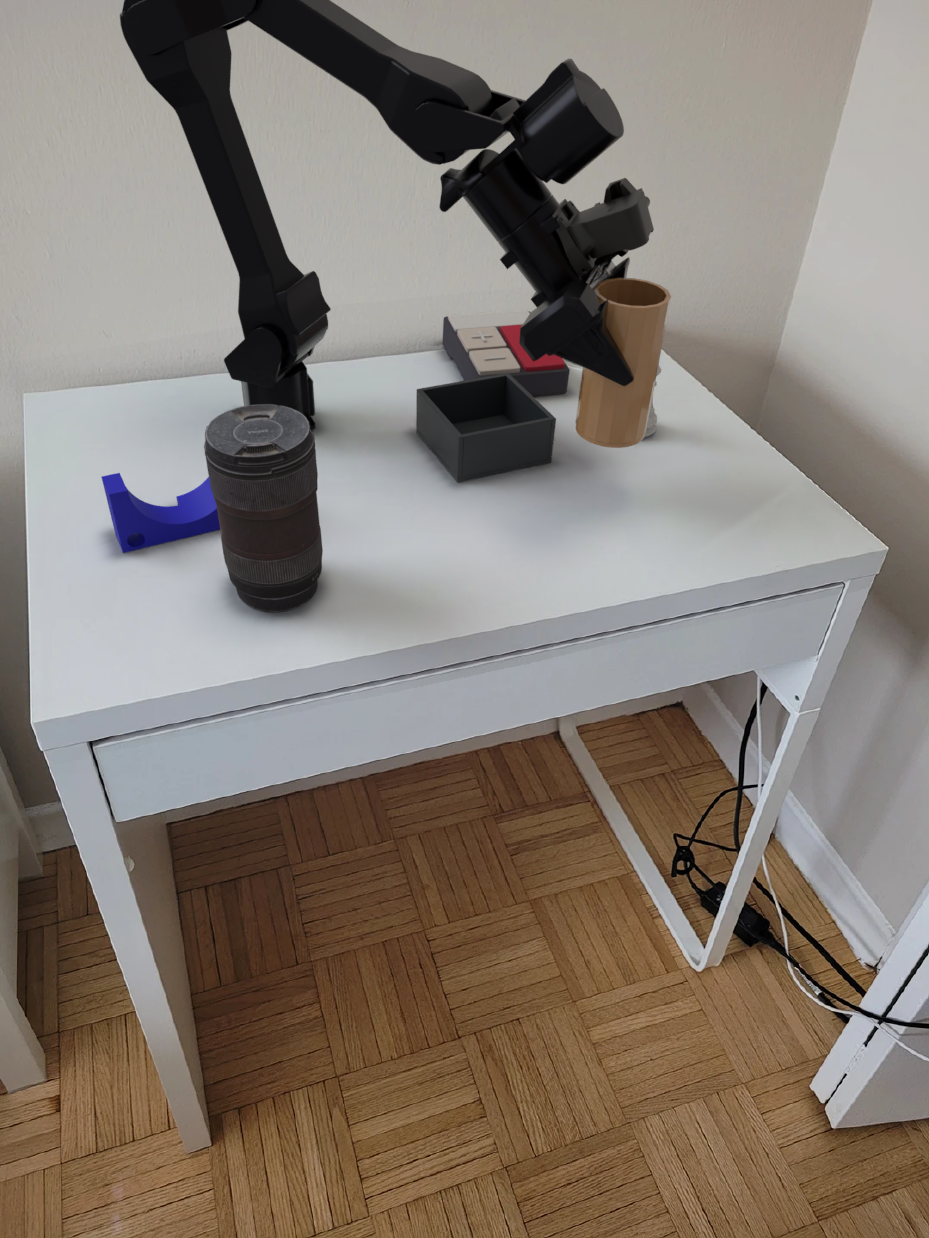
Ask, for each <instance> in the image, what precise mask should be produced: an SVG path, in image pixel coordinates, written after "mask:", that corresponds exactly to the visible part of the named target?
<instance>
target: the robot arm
mask: <svg viewBox="0 0 929 1238" xmlns="http://www.w3.org/2000/svg"><path fill="white" fill-rule="evenodd" d="M248 22H249V23H251V25H254V27H255V26H256V27H257V28H259V29H260V30H262V31H263V32H264V33H266V34H268V35H269V36H271V37H272V38H273V39H275V40H276V41H278V42H279V43H281V44H282V45H284V46H286V47H288V48H289V49H290V50H292V51H293V52H294V53H297V54H298V55H300V56H301V57H303V58H304V59H306V60H307V61H308V62H310V63H312V64H313V65H315V66H316V67H318V68H319V69H321V70H322V71H324V72H325V73H327V74H328V75H330V76H331V77H333V78H335V79H336V80H337V81H339V82H340V83H342V84H343V85H344V86H346V87H348V88H349V89H351V90H352V91H354V92H356V93H357V94H359V95H360V96H361V97H363V98H364V99H365V100H366V101H367V102H369V103H370V104H371V106H373V107H374V108H375V109H376V111H377V112H378V113H379V115H380V116H381V118H382V120H383V121H384V123H385V125H386V126H387V128H388V129H389V131H391V132H392V133H393V135H395V136H396V137H397V138H398V139H399V140H400V141H401V142H402V143H403V144H405V146H407V147H408V148H409V149H410V150H411V151H412V153H414V154H415V155H416V156H417V157H419V158H420V159H422V160H423V161H424V162H427V163H430V164H431V165H438V166H441V165H445V164H448V163H451V162H454V161H456V160H458V159H459V158H460V157H462V156H464V155H465V154H467V153H468V152H469V151H472V150H480V151H479V153H478V154H476V155H475V156H474V158H472V159H471V160H470V161H468V163H466V164H465V166H463V168H462V169H457V168H453V167H450V168H448V169H447V170H446V171H445V172H444V173H442V174H441V175H440V177H439V179H440V184H441V185H440V186H441V192H440V198H439V207H438V208H439V210H440V212H442V213H447V212H448V211H449V210H450V209H451V208H452V207H453V206H455V204H457V203H458V202H459V201H460V200H461V199H462V198H463V199H464V200H465V202H466V203H467V204H468V206H469V207H470V208H471V209H472V211H473V212H474V214H475V215H476V216H477V217H478V219H479V220H480V221H481V223H482V224H483V225H484V226H485V228H486V229H487V231H488V232H489V233H490V234H491V236H493V238H494V239H495V240H496V242H497V243H498V245H499V246H500V247H501V249H502V250H503V251H504V254H503V255H502V256H501V257H500V258H499V261H500V262H501V263H502V265H503V266H504V267H505V268H506V270H508V269H510V268H512V266H514V265H515V266H516V268H517V269H518V271H519V272H520V273H521V274H522V276H523V277H524V279H525V280H526V281H527V282H528V284H529V285H530V287H531V288H532V289H533V290H534V291H535V292H534V294H533V295H532V296H531V298H530V301H531V302H532V303H533V305H534V306H535V307H536V308H534V309H533V310H532V311H530V312H531V313H530V314H529V316H528V317H527V319H526V320H525V322H524V323H523V325H522V326H521V328H520V339H519V344H520V345H521V346H522V348H523V349H524V350H525V351H526V353H527V354H528V355H529V357H530V358H531V359H532V360H533V361H537V360H538V359H539V358H541V357H542V356H544V355H545V354H547V355H548V356H552V355H553V354H554V355H556V356H558V357H561V358H562V359H563V360H566V361H569V362H570V363H574V364H576V365H579V366H581V367H582V368H583V367H585V368H587V369H589V370H591V371H593V372H595V373H597V374H599V375H601V376H604V377H606V378H608V379H610V380H612V381H614V382H616V383H618V384H620V385H622V386H626V385H628V384H629V383H631V382H632V381H633V380H634V376H633V374H632V372H631V370H630V368H629V366H628V364H627V362H626V360H625V359H624V357H623V355H622V353H621V351H620V350H619V348H618V346H617V344H616V343H615V341H614V339H613V337H612V335H611V334H610V332H609V330H608V328H607V326H606V318H607V310H608V300H606V301H605V302H603V303H602V304H601V305H600V304H599V301H598V298H597V296H596V293H595V292H594V291H593V288H594V287H595V285H596V284H597V283H599V282H601V281H604V280H606V279H613V278H627V277H628V270H629V266H630V264H631V263H630V262H631V259H630V257H629V256H628V257H626V258H625V259H623V260H622V261H620V262H619V263H618V264H617V265H616V264H615V263H614V262H613V261H612V260H614V258H615V257H617V256H619V257H621V258H623V257H624V256H626V255H627V254H628V253H629V251H634V250H637V249H639V248H641V247H643V246H645V245H647V244H648V243H649V241H650V235H651V233H653V232H654V229H655V228H654V225H653V221H652V216H651V213H650V210H649V206H650V204H651V200H650V197H648V196H647V195H646V194H645V191H644V190H643V188H642V187H641V188H638V189H636V187H635V186H634V185H633V184H632V183H631V182H630V181H629V179H628V178H626V177H623V178H620V179H618V180H615V181H612V182H609V183H608V185H607V187H606V188H605V191H604V196H603V197H604V198H603V202H602V203H601V202H596V203H595V204H594V206H592V207H589V208H587V209H584V210H581V211H580V210H579V209H578V208H577V206H576V205H575V203H573V201H572V200H567V199H566V198H564V199H563V200H562V201H560V202H558V200H557V199H556V197H555V196H554V195H553V194H552V192H551V191H550V189H549V188H548V187H547V185H546V184H548V183H549V182H550V181H551V180H552V181H553V182H555V183H557V184H560V185H565V184H568V183H569V182H570V181H571V180H573V178H575V177H576V176H577V175H579V173H581V172H582V171H583V170H585V168H586V167H588V166H589V165H590V164H592V162H593V161H595V160H596V159H597V158H598V157H600V156H601V155H602V154H603V153H604V152H605V151H607V150H608V149H609V148H610V147H612V146H613V145H614V144H615V143H616V142H617V141H618V140H620V139H621V138H622V137H623V136H624V133H625V127H624V123H623V119H622V116H621V114H620V112H619V110H618V108H617V106H616V104H615V102H614V100H613V99H612V97H611V95H610V94H609V92H608V91H607V90H606V89H605V88H604V87H602V88H601V86H600V85H598V83H597V82H596V81H595V80H594V79H593V78H592V77H591V76H589V75H588V74H587V73H586V72H584V71H581V70H580V69H579V67H578V66H577V64H576V63H575V62H574V60H573V59H572V58H567V59H565V60H564V61H562V62H560V63H559V64H558V65H557V66H556V67H555V68H554V69H553V70H552V71H551V72H550V73H549V74H548V76H547V78H546V79H545V80H544V82H543V83H542V84H541V85H540V86H539V87H538V88H537V89H536V90H535V91H534V92H533V93H532V94H531V95H530V96H529V97H528V98H527V99H526V100H525V99H522V98H518V97H516V96H512V95H510V94H506V93H502V92H499V91H496V90H493V89H491V88H490V86H489V85H488V82H486V81H485V80H484V79H483V78H482V77H481V76H480V75H479V74H477V73H475V72H474V71H471V70H469V69H467V68H465V67H462V66H459V65H457V64H455V63H453V62H450V61H447V60H445V59H443V58H440V57H437V56H432V55H428V54H425V53H420V52H418V51H417V52H416V51H412V50H410V49H408V48H405V47H403V46H400V45H398V44H396V43H395V42H394V41H392V40H391V39H389V38H387V36H384V35H383V34H381V33H380V32H378V31H377V30H375V29H374V28H372V27H371V26H369V25H368V24H366V23H365V22H363V21H362V20H360V19H359V18H357V17H356V16H354V15H353V14H352V13H350V12H349V11H347V10H345V9H344V8H342V7H341V6H339V5H338V4H336V3H335V2H333V1H332V0H124V1H123V5H122V9H121V12H120V13H119V24H120V28H121V32H122V35H123V38H124V40H125V42H126V44H127V47H128V49H129V51H130V53H131V54H132V56H133V59H135V61H136V63H137V66H138V68H139V69H140V71H141V73H142V74H143V76H144V78H145V80H146V81H147V83H148V84H149V85H150V86H151V87H152V88H153V89H154V90H155V91H156V92H157V93H158V94H159V95H160V96H161V97H162V98H163V99H164V100H165V101H166V102H167V103H168V104H169V106H170V107H171V108H172V109H173V110H174V111H175V113H176V116H177V117H178V120H179V123H180V126H181V128H182V130H183V131H182V132H183V133H184V136H185V138H186V141H187V144H188V146H189V148H190V152H191V155H192V156H193V159H194V162H195V164H196V168H197V169H198V173H199V175H200V178H201V179H202V183H203V185H204V188H205V191H206V193H207V195H208V199H209V200H210V203H211V206H212V209H213V211H214V214H215V217H216V219H217V221H218V224H219V226H220V229H221V232H222V235H223V237H224V240H225V242H226V245H227V248H228V250H229V252H230V255H231V258H232V260H233V263H234V265H235V268H236V271H237V273H238V279H239V280H238V281H239V282H238V302H237V303H238V304H237V306H238V307H237V314H238V318H239V323H240V326H241V331H242V335H243V338H244V339H243V340H241V342H240V343H239V344H238V345H237V346H236V347H234V348H233V350H232V351H231V352H230V353H228V354H227V355H226V356H225V357H224V359H223V363H224V365H225V367H226V369H227V371H228V374H229V376H230V378H231V380H234V381H239V382H240V386H241V392H242V401H243V406H249V405H258V404H274V405H278V406H285V407H289V408H292V409H294V410H296V411H299V412H300V413H302V414H303V415H304V416H305V417H306V418H307V420H308V422H309V424H310V429H311V431H313V430H316V429H317V423H316V422H315V419H313V417H314V416H315V415H316V406H315V391H314V380H313V379H312V377H311V376H310V375H309V373H308V368H307V366H306V364H305V363H304V362H303V361H305V360H306V359H307V358H308V357H310V356H312V355H313V353H314V350H315V347H316V346H317V345H318V344H319V343H320V342H321V341H322V340H323V339H324V338H325V336H326V333H327V331H328V329H329V320H328V313H330V312H331V310H332V309H331V307H330V305H329V304H328V303H327V301H326V300H325V297H324V296H323V292H322V289H321V288H322V287H321V283H320V277H319V276H318V274H317V272H316V271H315V270H312V271H310V272H309V271H308V272H307V273H305V274H304V273H303V272H302V271H301V270H300V269H299V268H298V267H297V266H296V265H295V264H294V263H293V262H292V261H291V260H290V259H289V256H288V254H287V251H286V249H285V246H284V243H283V240H282V238H281V234H280V232H279V229H278V226H277V224H276V221H275V218H274V215H273V212H272V209H271V207H270V204H269V201H268V198H267V195H266V192H265V189H264V186H263V184H262V181H261V178H260V175H259V172H258V170H257V167H256V163H255V162H254V158H253V155H252V153H251V149H250V146H249V145H248V141H247V138H246V136H245V133H244V130H243V127H242V125H241V121H240V119H239V116H238V113H237V110H236V107H235V105H234V102H233V98H232V94H231V78H232V77H231V73H232V49H231V48H232V47H231V44H230V40H229V35H228V31H230V30H232V29H234V28H237V27H239V26H242V25H244V24H245V23H248ZM508 133H510V135H511V136H512V138H513V139H514V140H513V141H511V142H510V143H509V144H508V145H507V146H506V147H505V148H504V149H503V150H502V151H500V152H497V151H495V150H494V149H489V147H490V146H491V145H493V144H494V143H496V142H497V141H499V140H500V139H502V138H503V137H504V136H506V135H507V134H508Z"/></svg>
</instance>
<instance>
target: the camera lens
mask: <svg viewBox="0 0 929 1238" xmlns="http://www.w3.org/2000/svg"><path fill="white" fill-rule="evenodd" d="M203 449H204V450H203V451H204V456H205V460H206V468H207V474H208V477H209V480H210V486H211V490H212V493H213V496H214V499H215V502H216V506H217V512H218V519H219V525H220V530H219V531H220V541H221V546H222V554H223V559H224V563H225V566H226V569H227V572H228V576H229V580H230V582H231V583H232V585H233V586H234V587H235V590H236V593H237V596H238V597H239V599H240V600H241V601H242V603H244V604H245V605H247V606H248V607H250V608H252V609H255V610H258V611H263V612H271V613H273V612H275V613H276V612H285V611H291V610H294V609H297V608H299V607H301V606H303V605H305V604H307V603H308V602H309V601H310V600H311V599H312V598H313V597H314V596H315V594H316V592H317V590H318V586H319V583H318V582H319V579H320V576H321V574H322V571H323V552H324V550H323V538H322V529H321V525H320V515H319V514H320V513H319V504H318V495H317V492H318V487H319V486H318V485H319V484H318V476H319V473H318V464H317V451H316V442H315V436H314V433H313V432H312V430H311V429H310V424H309V422H308V420H307V418H306V417H305V416H304V415H303V414H302V413H300V412H299V411H296V410H294V409H292V408H289V407H285V406H278V405H274V404H258V405H249V406H244V405H243V406H239V407H235V408H232V409H230V410H227V411H224V412H222V413H220V414H219V415H217V416H216V417H214V418H213V419H212V420H211V421H210V422H209V423H208V425H207V426H206V428H205V432H204V444H203Z"/></svg>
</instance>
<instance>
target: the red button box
mask: <svg viewBox="0 0 929 1238" xmlns="http://www.w3.org/2000/svg"><path fill="white" fill-rule="evenodd" d="M531 312H532V311H530V310H528V309H513V310H501V311H488V312H487V311H486V312H473V313H459V314H449V315H448V316H447V315H446V316H444V317H443V319H442V321H443V322H442V346H443V348H444V350H445V352H446V354H447V356H448V357H449V358H450V359H452V360H453V362H454V364H455V366H456V368H457V370H458V372H459V373H460V375H461V378H462V380H463V381H466V380H471V379H477V378H483V377H489V376H494V375H500V374H506V373H509V374H510V375H511V376H512V377H513V378H514V379H515V380H516V381H517V382H518V383H519V384H520V385H521V386H522V387H523V388H525V389H526V390H527V391H528V392H529V393H530V394H531V395H532V396H533V397H539V396H541V397H542V396H551V395H560V394H566V393H567V391H568V385H569V377H570V368H569V366H568V365H567V363H566V362H565V359H563V358H561V357H558V356H556V355H554V354H553V355H552V356H548V355H547V354H545V355H544V356H542V357H541V358H539V359H538V360H537V361H533V360H532V359H531V358H530V357H529V355H528V354H527V353H526V351H525V350H524V349H523V348H522V346H521V345H520V344H519V339H520V328H521V326H522V325H523V323H524V322H525V320H526V319H527V317H528V316H529V314H530V313H531Z"/></svg>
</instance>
